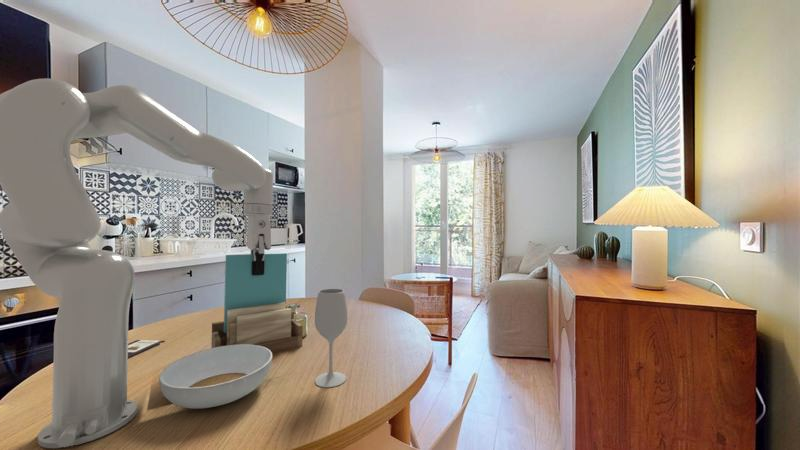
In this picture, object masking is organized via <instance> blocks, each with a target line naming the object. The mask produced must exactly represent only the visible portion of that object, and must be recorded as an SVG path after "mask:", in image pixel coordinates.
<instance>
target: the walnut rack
mask: <svg viewBox="0 0 800 450" xmlns="http://www.w3.org/2000/svg"><path fill="white" fill-rule="evenodd" d="M252 345H258V346H262V347H265V348H267V349H269V350H270V351H271V352H272V354H273V353H277V352H282V351H286V350H290V349H296V348H300V347H303V324H302V323H301V322H299V321H298V320H297V319H296V318H295V312H294V311H293V310H291V337H288V338H283V339H278V340H273V341H268V342H262V343H257V344H252ZM221 346H227V333H224V320H223V321H216V322H212V323H211V348H215V347H221Z"/></svg>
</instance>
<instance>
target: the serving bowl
mask: <svg viewBox="0 0 800 450" xmlns="http://www.w3.org/2000/svg"><path fill="white" fill-rule="evenodd" d="M272 362H273V353H272V352H271V351H270V350H269V349H267V348H265V347H262V346H258V345H249V344H240V345H227V346H221V347H215V348H212V347H211V348H207V349H203V350H199V351H196V352H193V353H191V354H189V355H188V354H187V355H186V356H183V357H181V358H179V359H177V360H175V361H173V362H171V363H170V364H169V365H167V366H166V367H164V368H163V370H162V371H161V372H160V374H159V377H158V383H159V387H160V390H161V393H162V394H163V396H164V397H165V398H166V399H167V400H168V401H169V402H170V403H172V404H173V405H175V406H178V407H181V408H186V409H187V408H188V409H208V408H213V407H219V406H223V405H226V404H229V403H232V402H235V401H237V400H239V399H241V398H243V397H245V396H247V395H249V394H250V393H251V392H253V391H254V390H255V389H257V388H258V387H259V386H260V385H261V384H262V383H263V381H264V380H265V379H266V377H267V376H268V374H269V372H270V369H271V367H272ZM236 373H237V374H245V375H244V376H241V377H239V378H235V379H232V380H228V381H226V382H221V383H217V384H213V385H212V384H211V385H205V386H196V387H195V386H193V385H194V384H197V383H198V382H201V381H203V380H205V379H208V378H212V377H216V376H220V375H225V374H236ZM191 386H193V387H191Z"/></svg>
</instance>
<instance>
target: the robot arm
mask: <svg viewBox="0 0 800 450" xmlns="http://www.w3.org/2000/svg"><path fill="white" fill-rule="evenodd" d="M121 134H129V135H131V136H132V137H134V138H136V139H138V140H139V141H141V142H143V143H145V144H146V145H148V146H150V147H152V148H153V149H155V150H157V151H158V152H160V153H162V154H164V155H165V156H167V157H169V158H170V159H173V160H174V161H178V162H182V163H185V164H190V165H198V166H204V167H207V168H208V167H209V168H213V170H212V174H211V178H212V181H213V184H215V186H217V188H219V189H221V190H223V191H226V192H244V197H243V198H244V199H243V216H245V217H247V230H246V231H247V233H246V235H247V236H246V241H247V242H246V244H247V245H246V246H247V249H249V250H250V254H253V261H252V275H253V276H254V275H264V254H265V250H266V251H270V250H271V248H272V236H271V235H272V230H271V228H272V227H271V226H272V224H271V218H272V217H273V204H274V203H273V200H274V198H273V197H274V187H273V186H274V175H273V172H272V171H271V170H270V169H268V168H264V166H263V165H262V164H261V163H260V162H259V160H257V159H256V158H255V157H253V156H252V155H251V154H249V153H248V152H247V151H245V150H244V149H243V148H241V147H239V146H237V145H235V144H233V143H231V142H228V141H226V140H223V139H221V138H219V137H217V136H214V135H211V134H209V133H206V132H203V131H201V130H199V129H197V128H195V127H193V126H192V125H191V124H190V123H188V122H186V121H185V120H183V119H182V118H180V117H179V116H178V115H176V114H175V113H173V112H172V111H170V110H169V109H168V108H166V107H165V106H163V105H162V104H160V103H159V102H158V101H156V100H154V99H153V98H152V97H150V96H149V95H147V94H146V93H144V92H143V91H142V90H139V89H137V88H135V87H134V86H130V85H124V84H117V85H113V86H109V87H105V88H102V89H100V90H97V91H92V92H83V93H82V92H81V91H80V90H79V89H78V88H77V87H75V85H72V84H70V83H68V82H67V81H64V80H60V79H55V78H49V77H48V78H47V77H46V78H37V79H36V78H35V79H31V80H28V81H25V82H23V83H21V84H18V85H17V86H14V87H13V88H10V89H8V90H7V91H4V92H2V93H0V188H2V190H3V192H4V194H5V196H6V197H7V199H8V201H9V203H8V204H7V205H5V206H4V207H3V209H2V210H1V212H0V232H1V234H2V237H3V238H4V240H5V242H6V243H7V245H8V247H9V248H10V251H12V253H13V255H14V256H15V257H16V259H17V261H18V262H19V264H20V265H21V267H22V269H23V270H24V271H25V273H26V274H27V276H28V278H29V279H30V281H32V283H33V284H34V286H35V287H36V288H37V289H38V290H39V291H41V292H42V293H44V294H45V295H48V296H51V297H54V298H57V299H60V302H59V307H58V311H57V313H56V318H55V323H54V328H53V329H54V331H53V365H52V366H53V367H52V368H53V369H52V371H53V373H52V374H53V375H52V408H51V409H52V411H51V412H52V415H51V417H52V418H51V421H50V422H49V423H47V425H45V426H44V427H43V428H41V430H40V431H39V433H38V434H37V445H39V446H40V447H42V448H45V449H62V448H61V447H64V448H70V447H75V446H78V445H82V444H84V443H88V442H92V441H94V440H97V439H100V438H102V437H104V436H107V435H109V434H111V433H114V432H115V431H118V429H121V428H122V427H124V426H126V424H128V423H129V422H130V421H132V420H133V419H134V417H135V416H136V414H137V413H138V403H137V402H136V401H133V400H130V399H128V367H129V365H128V364H129V362H128V361H129V359H128V344H129V320H130V319H129V318H130V317H129V316H130V307H131V305H130V304H131V300H132V295H133V291H134V287H135V282H136V275H135V268H134V266H133V265H132V263H131V262H130V261H129V260H128V259H127V258H126V257H125V256H123V255H122V254H120V253H118V252H114V251H111V250H105V249H96V248H95V249H92V246H91V245H90V243H89V242H91V241H92V240H94V239H95V238H96V237H97V235H98V234H99V233H100V230H101V226H102V225H101V224H102V223H101V218H100V215H99V213H98V211H97V209H96V208H95V205H94V204H93V202H92V200H91V199H90V196H89V194H88V192H87V190H86V189H85V187H84V185H83V183H82V181H81V179H80V177H79V175H78V173H77V171H76V168H75V165H74V164H73V161H72V157H71V143H72V141H73V140H77V139H78V140H79V139H90V138H101V137H102V138H103V137H109V136H110V137H111V136H118V135H121ZM74 445H75V446H74ZM69 446H70V447H69Z"/></svg>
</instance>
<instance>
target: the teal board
mask: <svg viewBox="0 0 800 450" xmlns="http://www.w3.org/2000/svg"><path fill="white" fill-rule="evenodd" d="M252 261H253V254H251V253H250V254H249V253H247V254H245V253H243V254H225V266H224V267H225V268H224V269H225V270H224V271H225V272H224V274H225V275H224V303H223V304H224V308H223V315H224V316H223V321H224V333H227V310H229V309H236V308H244V307H252V306H260V305H268V304H275V303H283V302H285V303H286V304H287V272H288V271H287V269H288V268H287V267H288V266H287V264H288V263H287V262H288V254H287V253H283V252H282V253H264V275H254V276H253V275H252Z"/></svg>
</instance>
